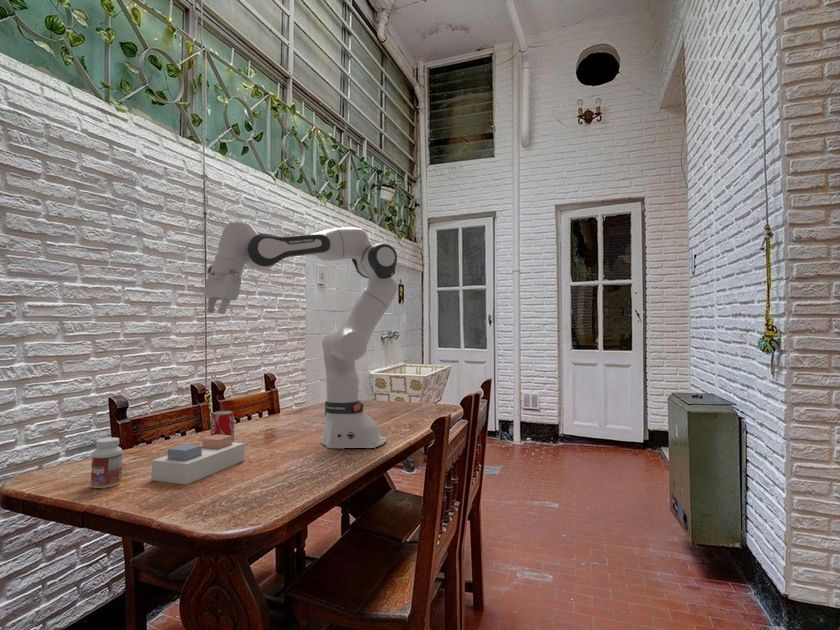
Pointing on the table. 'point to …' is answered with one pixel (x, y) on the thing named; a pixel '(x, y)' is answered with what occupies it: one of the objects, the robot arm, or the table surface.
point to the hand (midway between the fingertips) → (215, 313)
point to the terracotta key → (217, 441)
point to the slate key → (184, 452)
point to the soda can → (222, 423)
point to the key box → (197, 464)
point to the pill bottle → (106, 463)
